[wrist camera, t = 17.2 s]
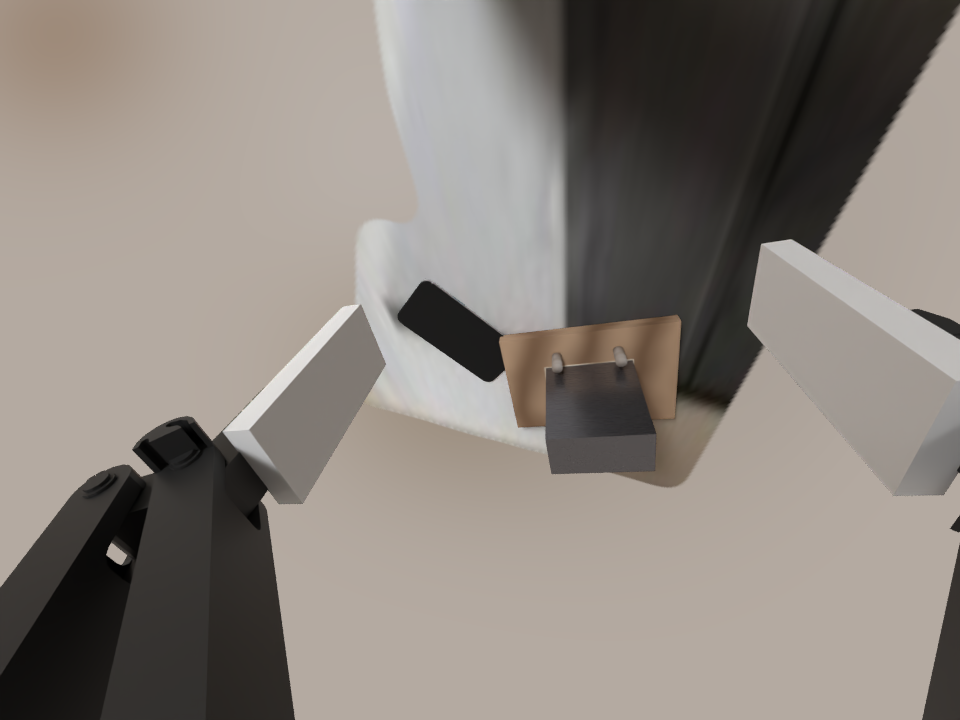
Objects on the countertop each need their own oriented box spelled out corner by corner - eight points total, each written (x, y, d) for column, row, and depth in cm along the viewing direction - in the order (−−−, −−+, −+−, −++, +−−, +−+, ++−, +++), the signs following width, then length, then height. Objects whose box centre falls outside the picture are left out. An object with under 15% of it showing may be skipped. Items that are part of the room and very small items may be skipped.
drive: (632, 360, 45) (656, 434, 35) (632, 394, 48) (654, 471, 38) (545, 368, 47) (545, 439, 38) (550, 400, 50) (551, 474, 40)
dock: (677, 314, 43) (688, 333, 40) (671, 410, 50) (680, 432, 47) (500, 335, 48) (496, 353, 44) (518, 420, 55) (516, 440, 52)
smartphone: (488, 384, 52) (394, 318, 48) (489, 381, 52) (395, 316, 49) (524, 351, 48) (424, 276, 44) (524, 348, 49) (426, 274, 45)
